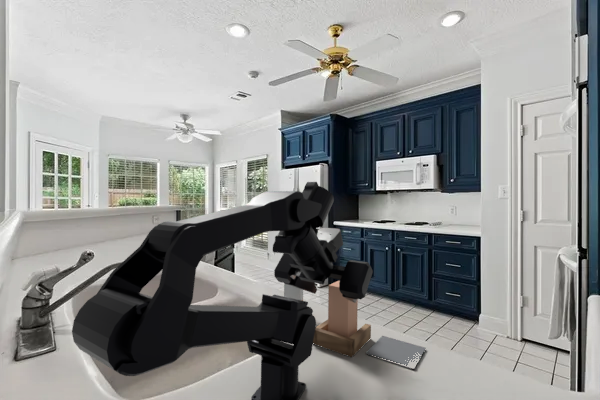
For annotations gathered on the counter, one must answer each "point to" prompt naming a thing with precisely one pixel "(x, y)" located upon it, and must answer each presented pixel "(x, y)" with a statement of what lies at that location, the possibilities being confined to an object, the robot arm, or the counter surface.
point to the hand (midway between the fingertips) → (334, 295)
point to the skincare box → (293, 292)
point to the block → (341, 312)
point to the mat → (395, 350)
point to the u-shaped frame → (341, 339)
